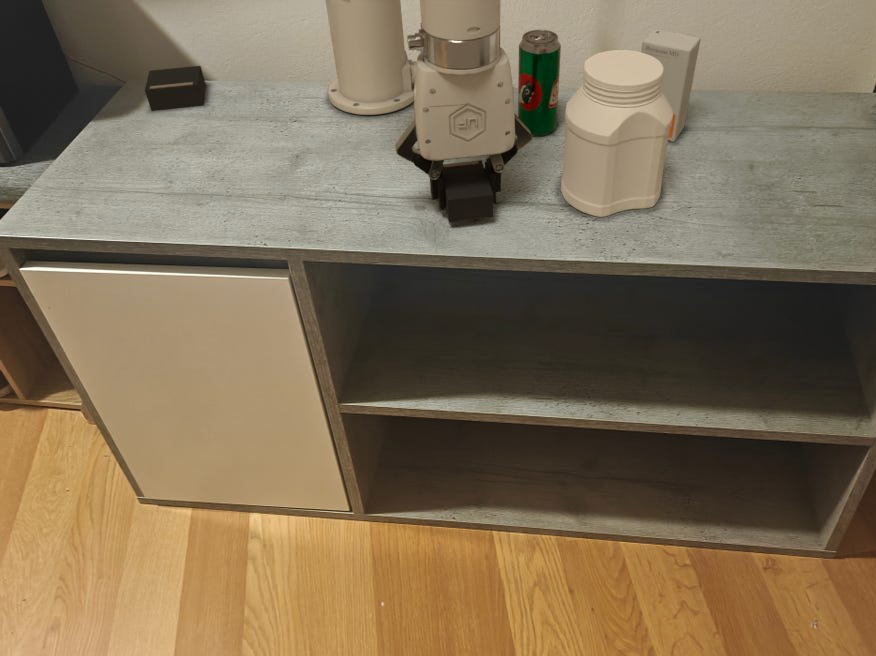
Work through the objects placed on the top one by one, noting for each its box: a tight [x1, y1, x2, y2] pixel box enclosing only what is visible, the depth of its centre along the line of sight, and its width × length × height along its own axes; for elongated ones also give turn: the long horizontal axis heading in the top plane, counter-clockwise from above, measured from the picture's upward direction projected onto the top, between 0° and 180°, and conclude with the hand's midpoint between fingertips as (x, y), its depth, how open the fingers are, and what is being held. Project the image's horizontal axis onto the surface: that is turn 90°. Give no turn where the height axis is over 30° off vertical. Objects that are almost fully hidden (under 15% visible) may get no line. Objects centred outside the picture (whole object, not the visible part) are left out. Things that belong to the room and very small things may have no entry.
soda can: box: [517, 29, 562, 137], centre depth 100 cm, size 5×5×12 cm
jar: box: [560, 49, 673, 218], centre depth 89 cm, size 12×10×15 cm
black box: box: [442, 159, 494, 223], centre depth 90 cm, size 5×7×3 cm
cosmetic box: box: [640, 28, 701, 143], centre depth 99 cm, size 6×4×12 cm
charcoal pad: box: [144, 65, 207, 112], centre depth 112 cm, size 7×6×3 cm
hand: (465, 198), depth 91 cm, fingers closed on black box, 5 cm apart
